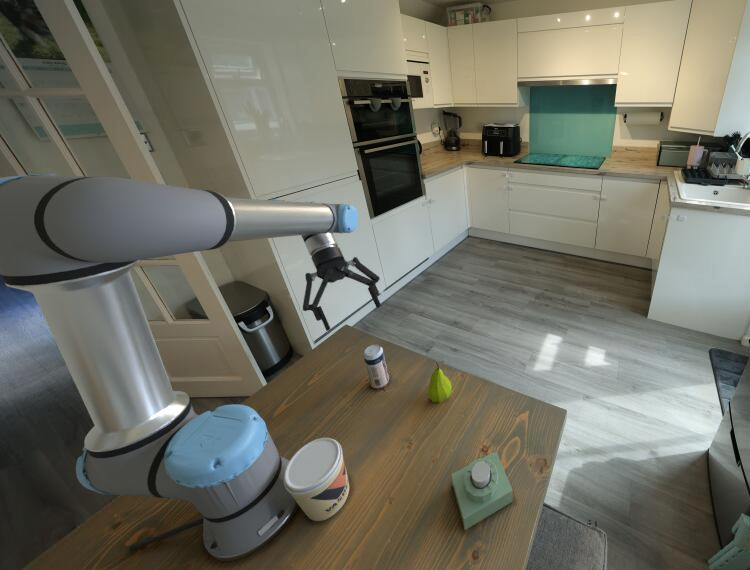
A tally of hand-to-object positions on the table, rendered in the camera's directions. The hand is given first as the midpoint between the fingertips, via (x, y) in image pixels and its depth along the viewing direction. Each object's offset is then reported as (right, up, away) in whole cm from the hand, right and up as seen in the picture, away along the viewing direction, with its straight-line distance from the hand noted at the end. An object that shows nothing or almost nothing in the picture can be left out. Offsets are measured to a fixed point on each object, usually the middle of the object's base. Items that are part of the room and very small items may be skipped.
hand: (355, 317), depth 87 cm
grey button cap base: (+38, -29, -24) cm, 53 cm away
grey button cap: (+38, -24, -26) cm, 52 cm away
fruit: (+25, -20, -4) cm, 32 cm away
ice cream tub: (+7, -29, -24) cm, 39 cm away
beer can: (+7, -18, 0) cm, 20 cm away
